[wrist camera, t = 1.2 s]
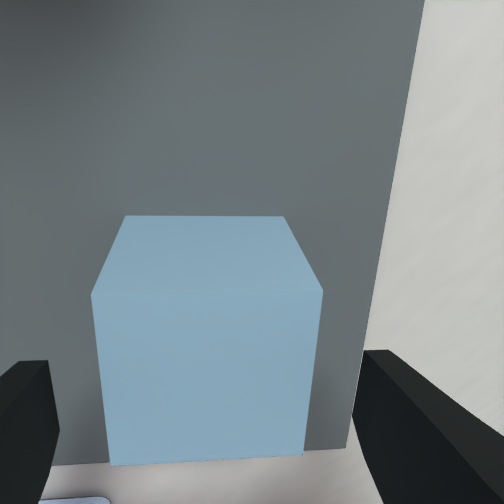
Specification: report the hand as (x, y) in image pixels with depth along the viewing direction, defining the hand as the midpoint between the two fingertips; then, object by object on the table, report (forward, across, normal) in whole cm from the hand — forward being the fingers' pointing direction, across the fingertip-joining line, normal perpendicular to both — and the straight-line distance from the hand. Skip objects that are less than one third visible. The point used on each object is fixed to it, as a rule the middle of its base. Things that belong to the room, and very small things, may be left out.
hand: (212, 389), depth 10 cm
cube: (+5, 0, 0) cm, 5 cm away
